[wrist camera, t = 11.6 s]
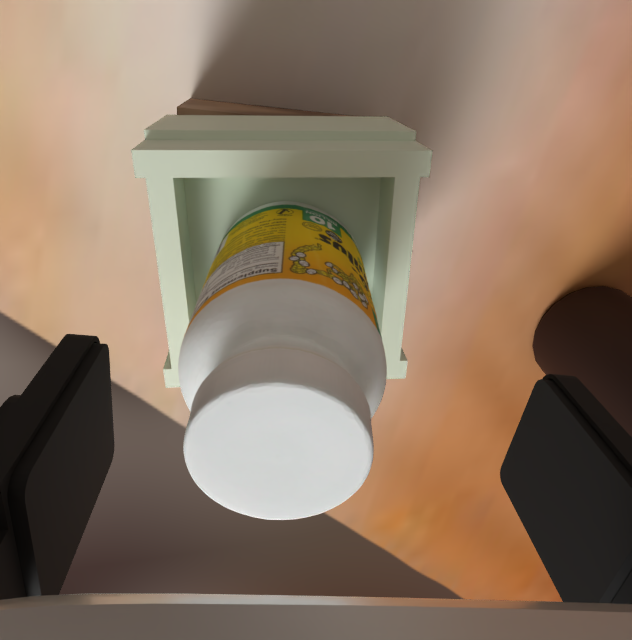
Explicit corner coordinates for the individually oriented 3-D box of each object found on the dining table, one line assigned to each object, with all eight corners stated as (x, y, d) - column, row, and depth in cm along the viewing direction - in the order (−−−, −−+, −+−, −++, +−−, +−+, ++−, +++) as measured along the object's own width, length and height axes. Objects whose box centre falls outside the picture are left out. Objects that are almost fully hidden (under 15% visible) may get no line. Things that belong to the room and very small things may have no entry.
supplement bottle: (189, 235, 18) (90, 409, 10) (326, 170, 17) (343, 304, 9) (261, 350, 21) (230, 566, 12) (384, 299, 20) (441, 498, 11)
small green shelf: (387, 116, 21) (433, 140, 15) (372, 309, 25) (404, 384, 20) (167, 114, 20) (129, 139, 15) (189, 314, 25) (166, 394, 19)
